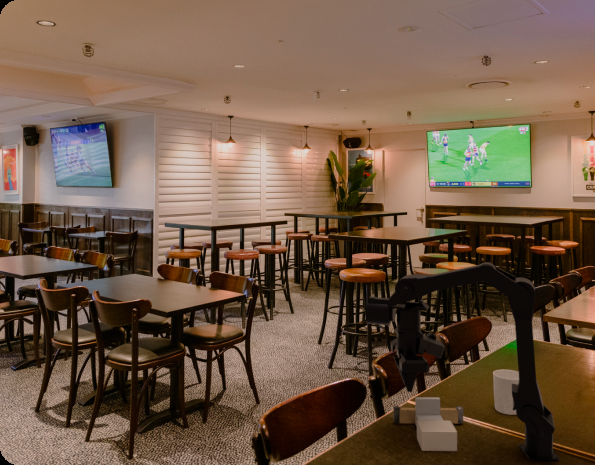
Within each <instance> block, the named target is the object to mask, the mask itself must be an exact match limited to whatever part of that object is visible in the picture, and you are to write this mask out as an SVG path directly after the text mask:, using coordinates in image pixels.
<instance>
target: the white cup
mask: <svg viewBox="0 0 595 465" xmlns="http://www.w3.org/2000/svg"><path fill="white" fill-rule="evenodd" d="M492 377H493V378H492V380H493V381H492V382H493V399H494V408H495V411H497V412H498V413H501V414H504V415H510V416H512V415H515V416H517V414H516V410H514V411H513V397H512V384H517V385H518V381H519V371H517V370H513V369H503V368H502V369H496V370H493V371H492Z"/></svg>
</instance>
